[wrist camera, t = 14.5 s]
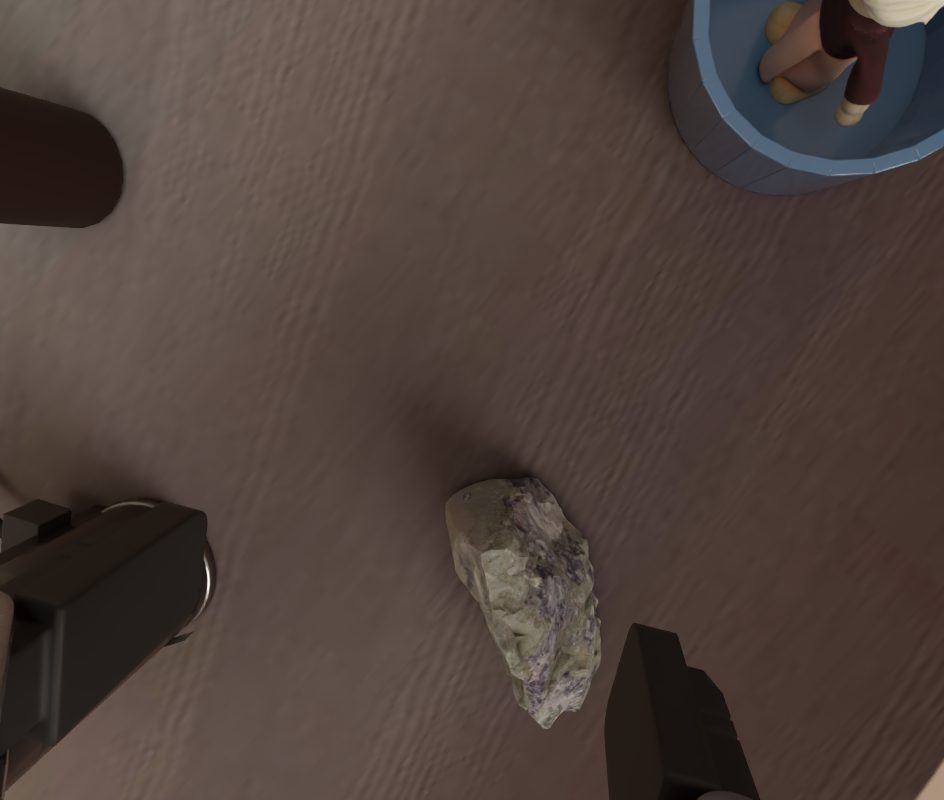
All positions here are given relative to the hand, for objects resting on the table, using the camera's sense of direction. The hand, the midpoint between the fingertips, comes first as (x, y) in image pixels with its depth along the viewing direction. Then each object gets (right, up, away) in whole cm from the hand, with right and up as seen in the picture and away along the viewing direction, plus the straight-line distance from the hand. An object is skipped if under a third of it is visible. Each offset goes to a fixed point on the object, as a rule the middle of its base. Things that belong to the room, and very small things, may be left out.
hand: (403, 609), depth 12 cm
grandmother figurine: (+17, +20, +20) cm, 33 cm away
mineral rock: (+4, -7, +28) cm, 29 cm away
